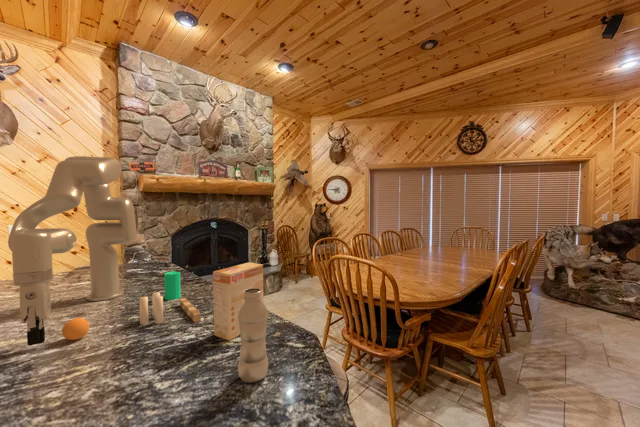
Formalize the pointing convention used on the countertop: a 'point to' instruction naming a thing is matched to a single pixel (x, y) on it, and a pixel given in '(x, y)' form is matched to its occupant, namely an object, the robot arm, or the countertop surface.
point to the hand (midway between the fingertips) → (36, 343)
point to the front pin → (143, 310)
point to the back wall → (190, 310)
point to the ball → (75, 329)
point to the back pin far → (154, 302)
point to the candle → (172, 285)
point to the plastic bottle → (253, 337)
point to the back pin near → (159, 310)
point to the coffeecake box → (233, 296)
